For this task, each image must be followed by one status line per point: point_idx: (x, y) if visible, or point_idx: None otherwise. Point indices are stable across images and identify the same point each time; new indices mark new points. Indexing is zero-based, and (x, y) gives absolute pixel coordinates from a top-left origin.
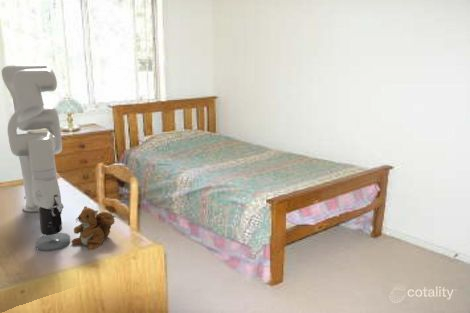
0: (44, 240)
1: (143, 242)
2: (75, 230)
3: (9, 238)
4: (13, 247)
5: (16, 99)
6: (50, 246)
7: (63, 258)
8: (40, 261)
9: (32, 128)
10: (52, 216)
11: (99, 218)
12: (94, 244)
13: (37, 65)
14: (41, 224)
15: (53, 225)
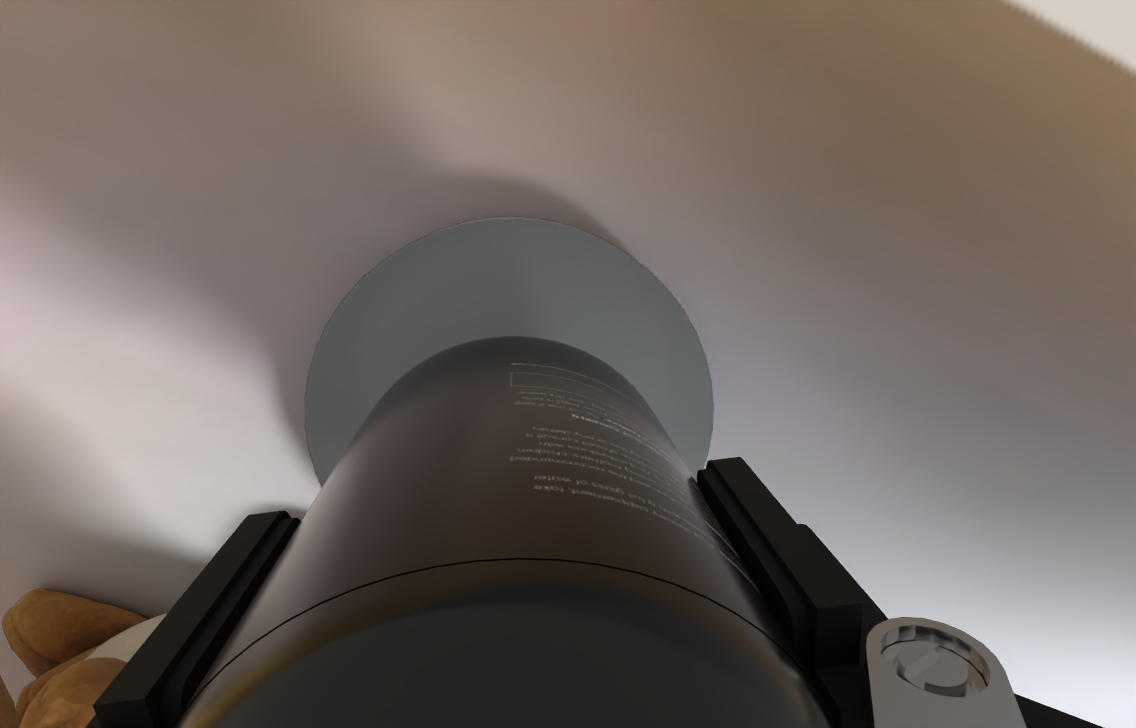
0: (579, 348)
1: None
2: (33, 702)
3: (1097, 125)
4: (817, 32)
5: None
6: (339, 316)
7: (30, 304)
8: (143, 72)
9: None
10: (104, 715)
11: None
12: (32, 672)
13: None
14: (479, 392)
15: (234, 536)
